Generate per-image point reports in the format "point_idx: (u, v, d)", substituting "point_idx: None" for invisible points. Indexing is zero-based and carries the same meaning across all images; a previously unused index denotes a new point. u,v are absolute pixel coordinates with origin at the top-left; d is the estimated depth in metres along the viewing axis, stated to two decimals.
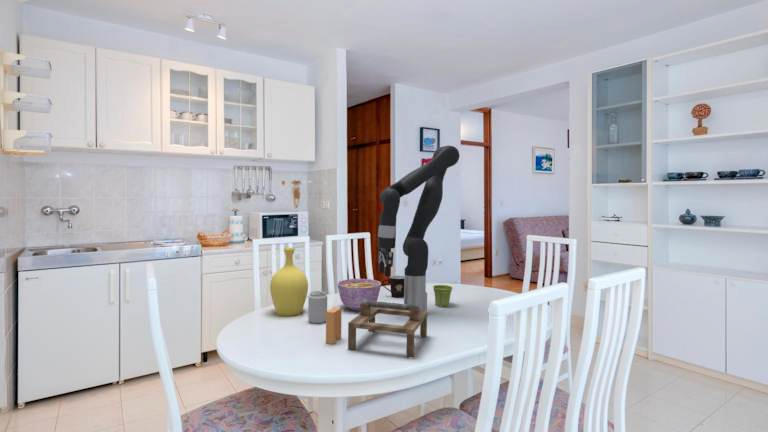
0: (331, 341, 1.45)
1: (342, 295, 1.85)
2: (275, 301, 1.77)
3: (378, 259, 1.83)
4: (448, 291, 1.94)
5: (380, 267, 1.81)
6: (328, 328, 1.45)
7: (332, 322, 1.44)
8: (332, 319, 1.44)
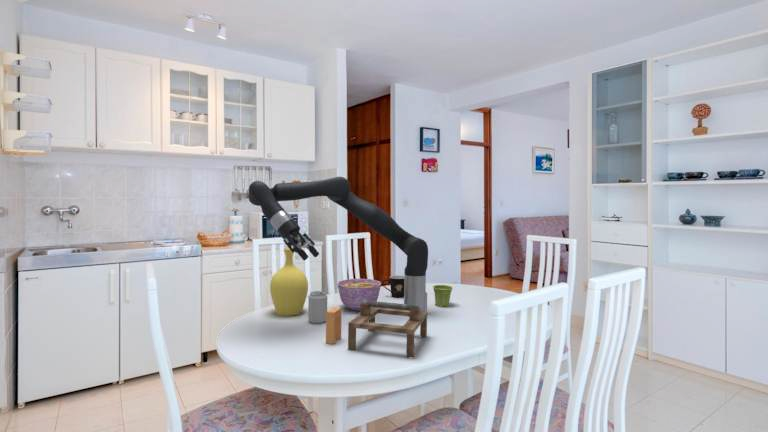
0: (331, 341, 1.45)
1: (342, 295, 1.85)
2: (275, 301, 1.77)
3: (308, 246, 1.62)
4: (448, 291, 1.94)
5: (311, 252, 1.60)
6: (328, 328, 1.45)
7: (332, 322, 1.44)
8: (332, 319, 1.44)
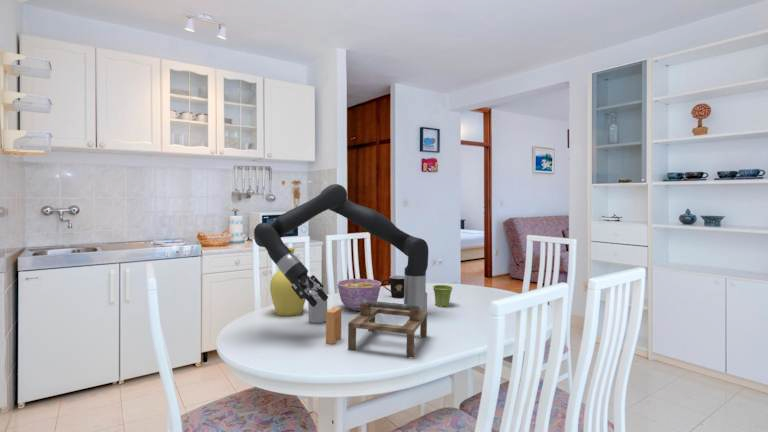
0: (331, 341, 1.45)
1: (342, 295, 1.85)
2: (275, 301, 1.77)
3: None
4: (448, 291, 1.94)
5: (320, 295, 1.54)
6: (328, 328, 1.45)
7: (332, 322, 1.44)
8: (332, 319, 1.44)
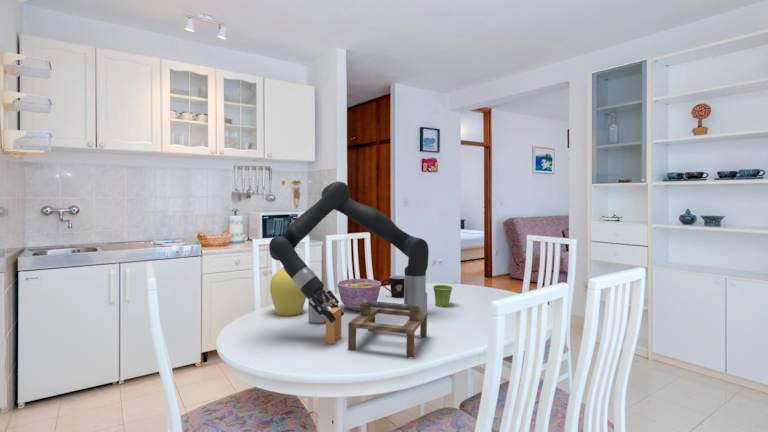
0: (331, 341, 1.45)
1: (342, 295, 1.85)
2: (275, 301, 1.77)
3: (332, 304, 1.54)
4: (448, 291, 1.94)
5: None
6: (328, 328, 1.45)
7: None
8: None
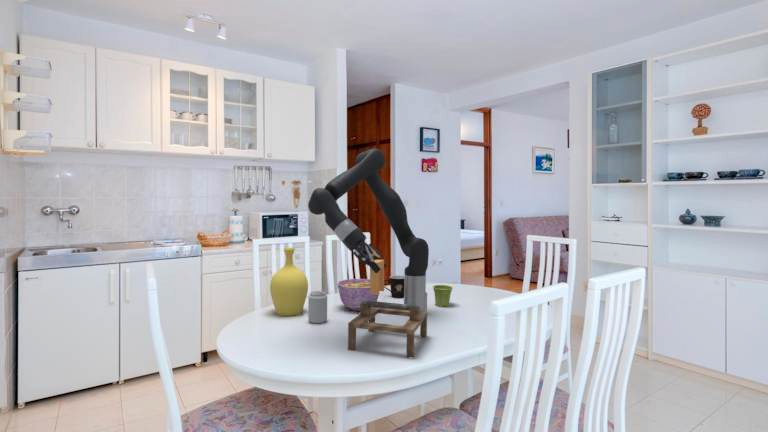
0: (375, 291, 1.43)
1: (342, 295, 1.85)
2: (275, 301, 1.77)
3: None
4: (448, 291, 1.94)
5: None
6: (372, 279, 1.43)
7: None
8: None
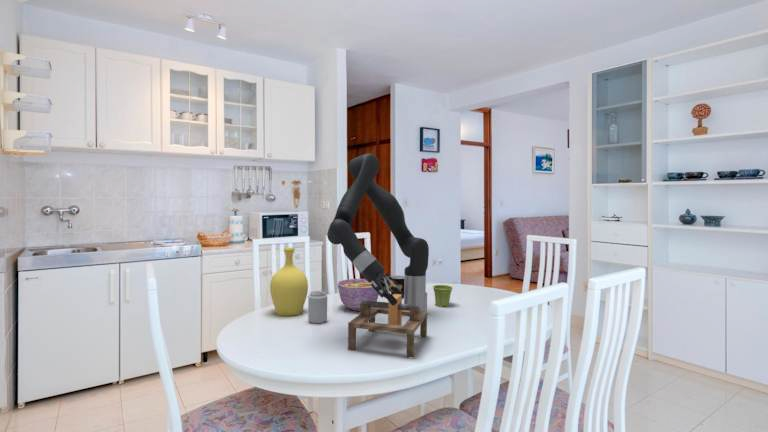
0: None
1: (342, 295, 1.85)
2: (275, 301, 1.77)
3: (391, 287, 1.52)
4: (448, 291, 1.94)
5: None
6: (390, 314, 1.43)
7: (395, 308, 1.43)
8: (395, 305, 1.43)
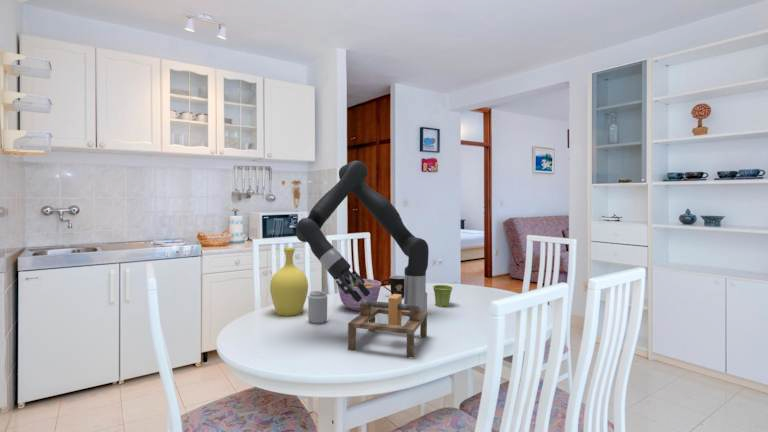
0: None
1: (342, 295, 1.85)
2: (275, 301, 1.77)
3: None
4: (448, 291, 1.94)
5: (362, 291, 1.54)
6: (390, 314, 1.43)
7: (395, 308, 1.43)
8: (395, 305, 1.43)
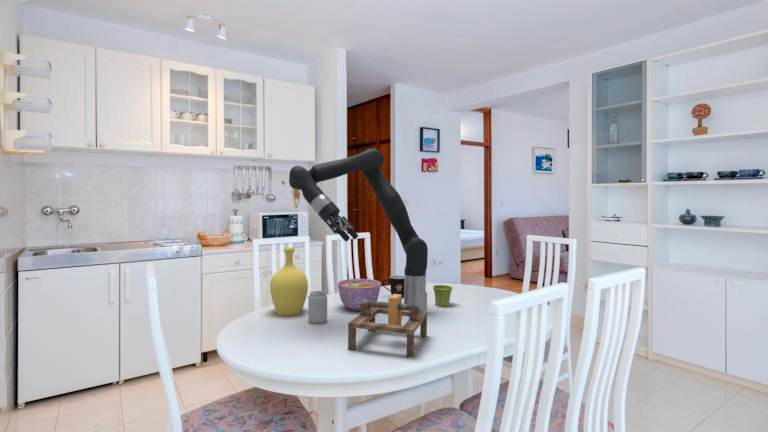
0: None
1: (342, 295, 1.85)
2: (275, 301, 1.77)
3: None
4: (448, 291, 1.94)
5: (351, 234, 1.64)
6: (390, 314, 1.43)
7: (395, 308, 1.43)
8: (395, 305, 1.43)
